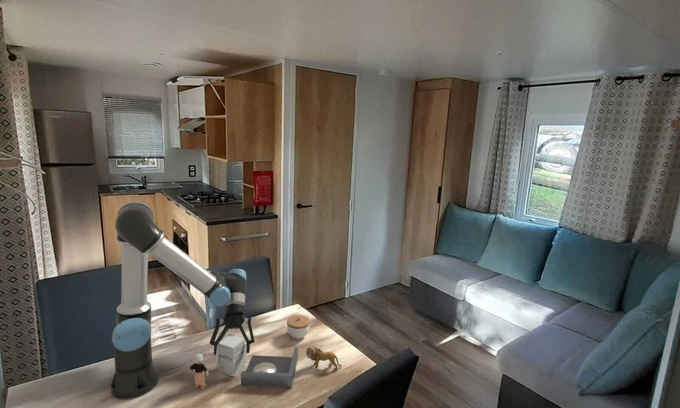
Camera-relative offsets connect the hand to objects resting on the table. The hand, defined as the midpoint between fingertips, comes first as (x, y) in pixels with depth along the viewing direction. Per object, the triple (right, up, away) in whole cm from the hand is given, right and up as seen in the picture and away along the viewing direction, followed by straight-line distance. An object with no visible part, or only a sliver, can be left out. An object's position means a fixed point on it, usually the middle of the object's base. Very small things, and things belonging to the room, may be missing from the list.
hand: (230, 362), depth 138 cm
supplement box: (-1, -4, +4) cm, 6 cm away
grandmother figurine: (-10, -6, -6) cm, 13 cm away
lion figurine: (+35, -5, +8) cm, 36 cm away
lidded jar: (+22, -1, +29) cm, 37 cm away
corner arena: (+15, -5, +4) cm, 16 cm away
